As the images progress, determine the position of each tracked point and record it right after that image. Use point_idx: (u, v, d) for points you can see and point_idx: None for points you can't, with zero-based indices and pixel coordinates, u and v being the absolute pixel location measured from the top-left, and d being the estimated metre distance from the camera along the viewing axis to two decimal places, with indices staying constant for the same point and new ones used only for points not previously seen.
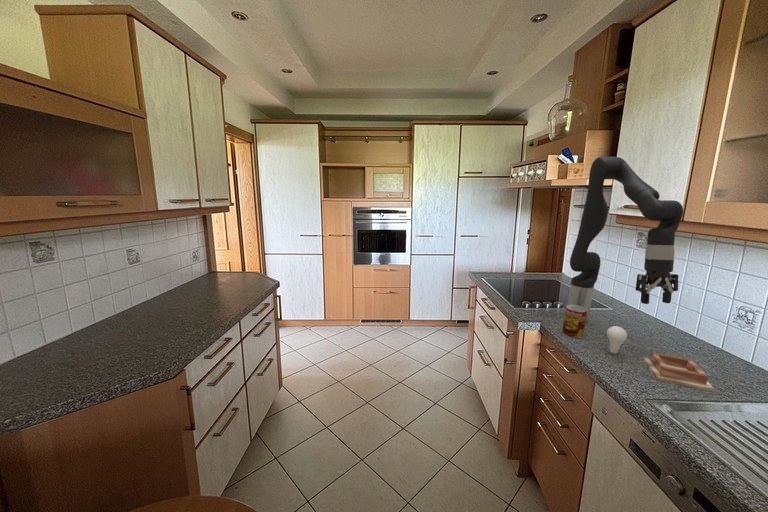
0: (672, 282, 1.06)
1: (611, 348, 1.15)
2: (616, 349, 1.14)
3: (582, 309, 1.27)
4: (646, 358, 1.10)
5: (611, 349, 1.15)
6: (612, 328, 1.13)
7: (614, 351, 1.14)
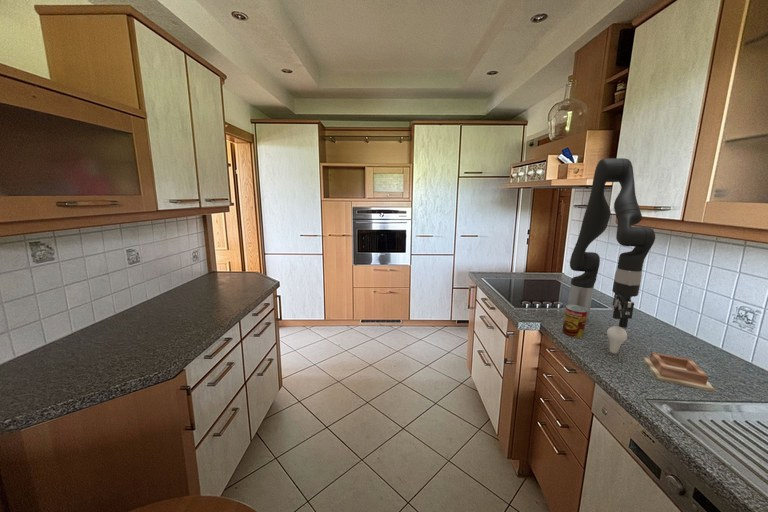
0: None
1: (611, 348, 1.15)
2: (616, 349, 1.14)
3: (582, 310, 1.27)
4: (646, 358, 1.10)
5: (611, 349, 1.15)
6: (612, 328, 1.13)
7: (614, 351, 1.14)
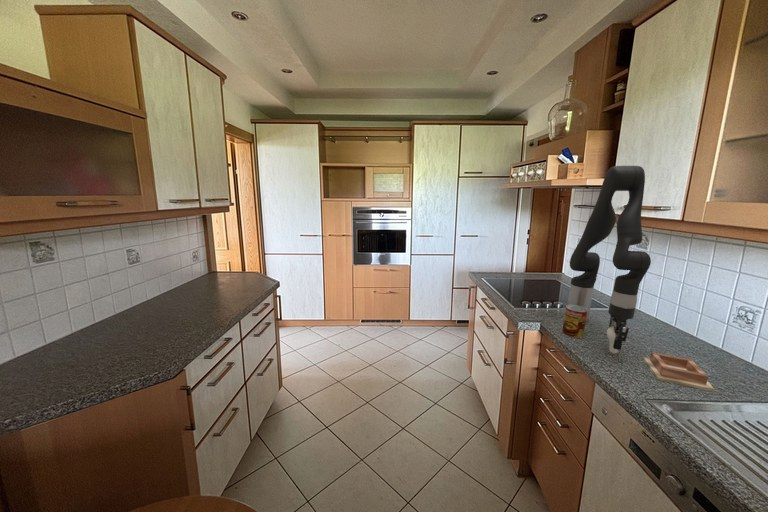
0: None
1: (611, 348, 1.15)
2: (616, 349, 1.14)
3: (582, 309, 1.27)
4: (646, 358, 1.10)
5: (611, 349, 1.15)
6: (612, 328, 1.14)
7: (614, 351, 1.14)
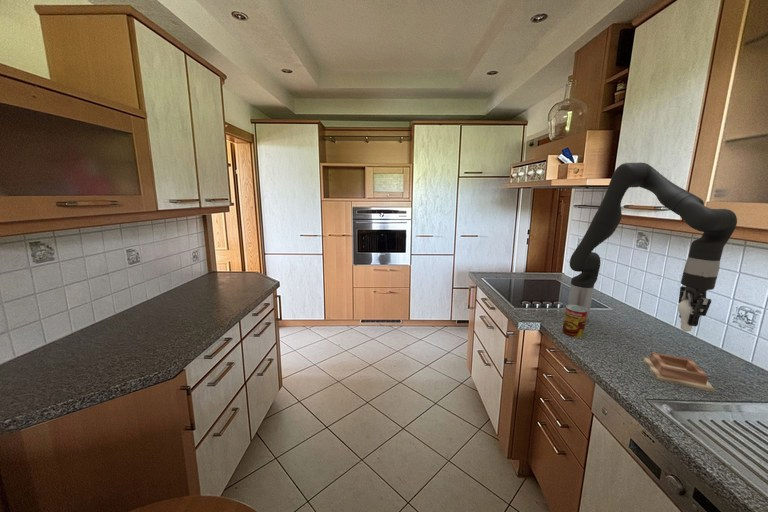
0: None
1: (684, 325, 0.98)
2: (690, 326, 0.97)
3: (582, 310, 1.27)
4: (646, 358, 1.10)
5: (683, 326, 0.99)
6: (685, 301, 0.97)
7: (687, 328, 0.98)
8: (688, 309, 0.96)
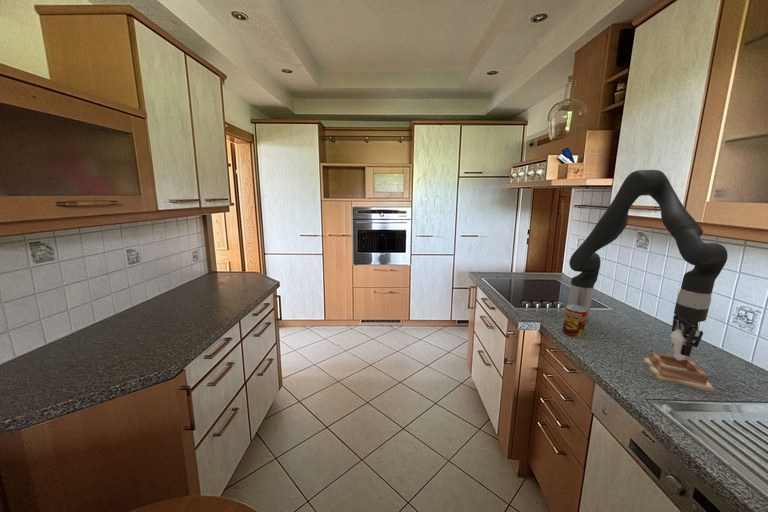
0: None
1: (677, 354, 1.01)
2: None
3: (582, 309, 1.27)
4: (646, 358, 1.10)
5: (677, 355, 1.01)
6: (678, 331, 1.00)
7: (680, 357, 1.00)
8: (681, 339, 0.98)
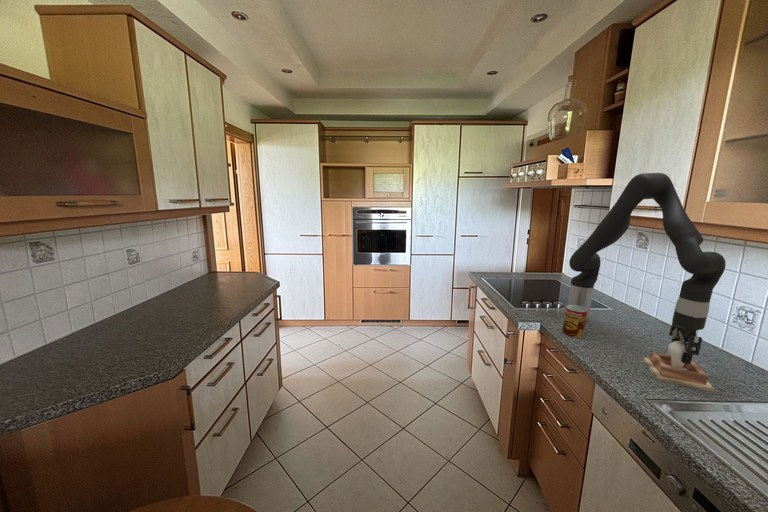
0: None
1: (673, 365, 1.02)
2: (680, 367, 1.01)
3: (582, 309, 1.27)
4: (646, 358, 1.10)
5: (673, 367, 1.02)
6: (675, 343, 1.01)
7: None
8: (677, 351, 0.99)
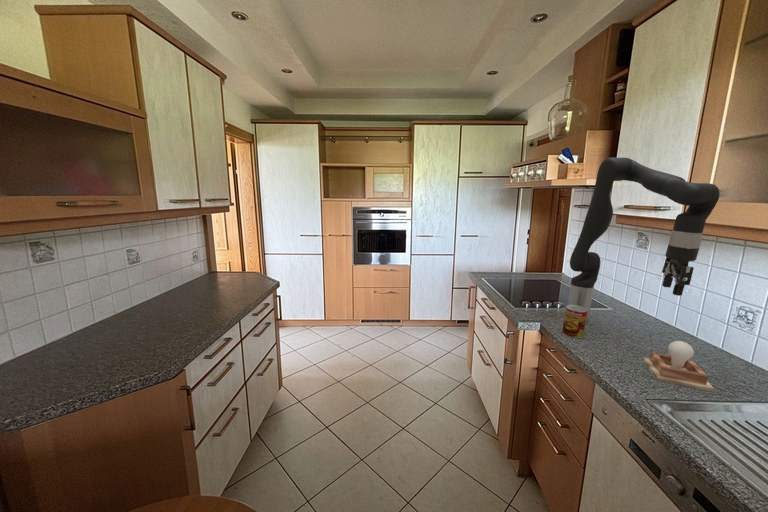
0: None
1: (673, 366, 1.02)
2: (680, 367, 1.01)
3: (582, 309, 1.27)
4: (646, 358, 1.10)
5: (673, 367, 1.02)
6: (675, 343, 1.00)
7: None
8: (678, 351, 0.99)
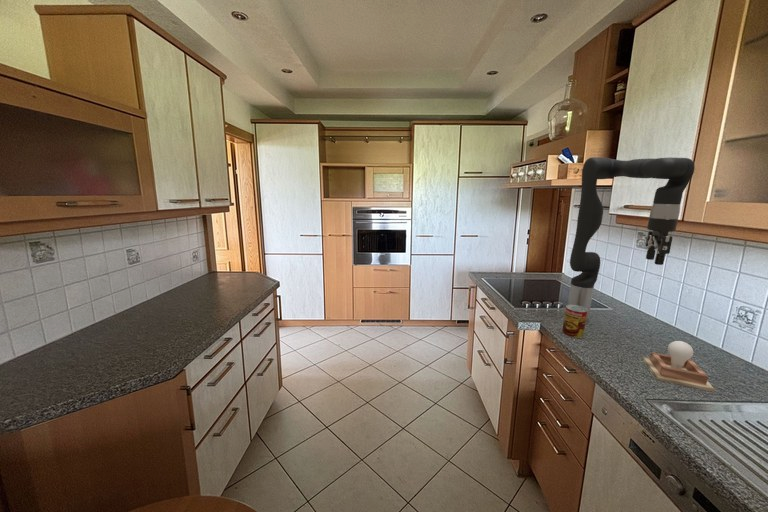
0: None
1: (673, 365, 1.02)
2: (680, 367, 1.01)
3: (582, 309, 1.27)
4: (646, 358, 1.10)
5: (673, 367, 1.02)
6: (675, 343, 1.01)
7: None
8: (677, 351, 0.99)
